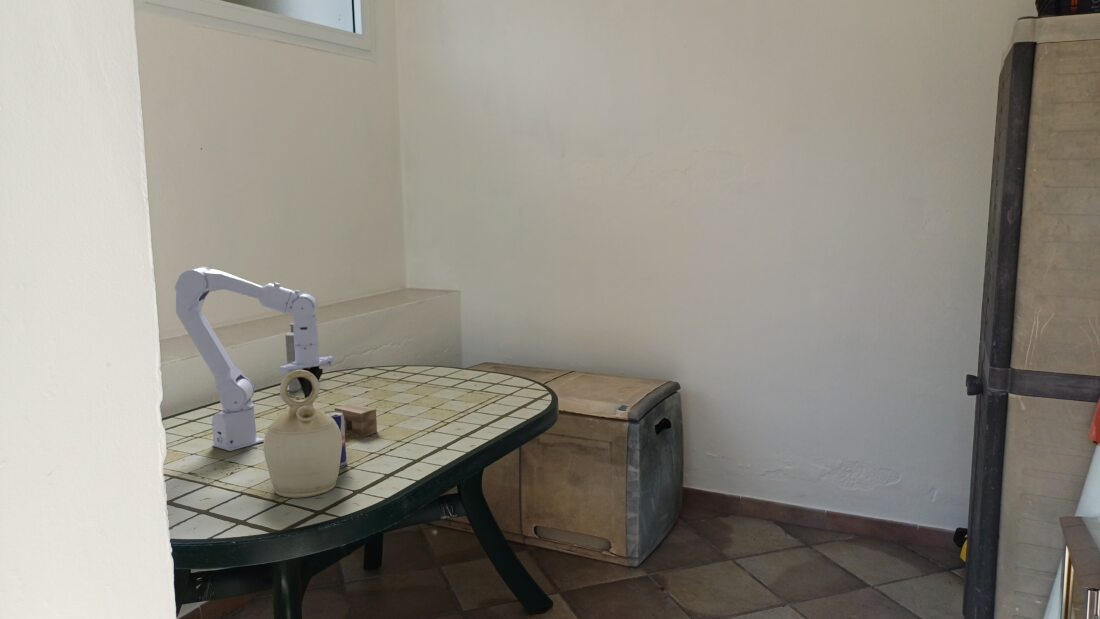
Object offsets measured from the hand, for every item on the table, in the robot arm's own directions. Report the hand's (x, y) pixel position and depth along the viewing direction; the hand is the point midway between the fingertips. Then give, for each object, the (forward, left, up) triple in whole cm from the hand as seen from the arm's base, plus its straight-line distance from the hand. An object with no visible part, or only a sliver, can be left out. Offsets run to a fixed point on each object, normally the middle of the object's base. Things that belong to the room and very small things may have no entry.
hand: (309, 398), depth 204 cm
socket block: (+11, -4, -10) cm, 15 cm away
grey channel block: (+3, -4, -10) cm, 12 cm away
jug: (-22, -27, -11) cm, 36 cm away
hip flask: (+34, +51, -11) cm, 62 cm away
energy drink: (-10, -21, -11) cm, 26 cm away
